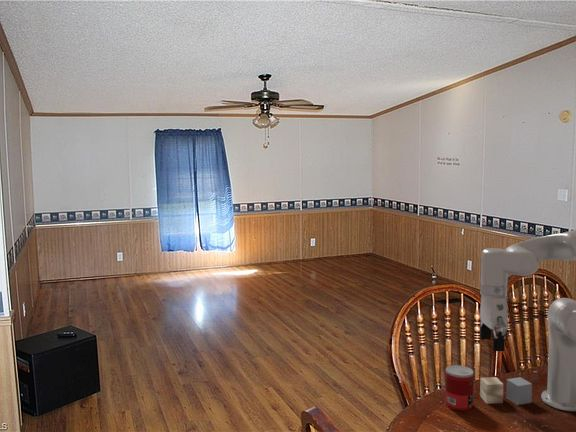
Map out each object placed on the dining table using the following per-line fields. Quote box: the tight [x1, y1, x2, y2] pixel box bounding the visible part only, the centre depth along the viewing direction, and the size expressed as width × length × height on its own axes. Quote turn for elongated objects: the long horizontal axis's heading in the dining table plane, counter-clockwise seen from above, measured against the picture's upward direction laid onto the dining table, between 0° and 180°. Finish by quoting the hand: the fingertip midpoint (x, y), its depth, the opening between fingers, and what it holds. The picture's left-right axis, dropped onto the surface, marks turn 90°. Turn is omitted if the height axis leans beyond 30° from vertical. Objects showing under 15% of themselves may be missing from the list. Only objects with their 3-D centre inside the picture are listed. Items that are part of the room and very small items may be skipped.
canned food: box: [444, 364, 475, 412], centre depth 157 cm, size 8×8×11 cm
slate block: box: [505, 376, 533, 406], centre depth 159 cm, size 5×5×6 cm
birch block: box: [479, 376, 504, 405], centre depth 160 cm, size 5×5×6 cm
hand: (491, 344), depth 159 cm, fingers open, 9 cm apart
